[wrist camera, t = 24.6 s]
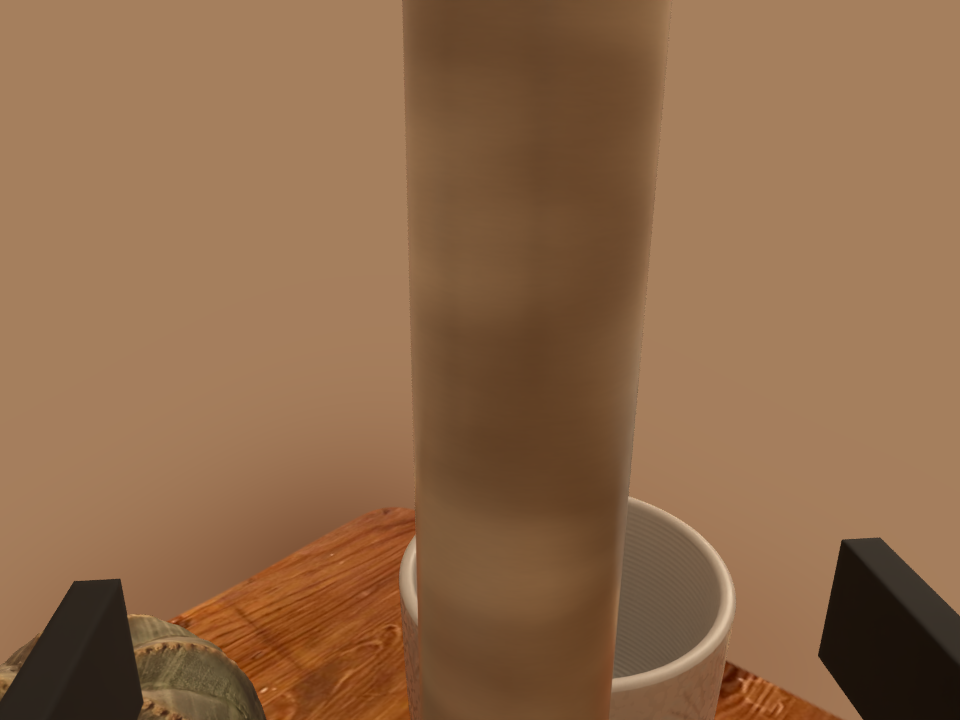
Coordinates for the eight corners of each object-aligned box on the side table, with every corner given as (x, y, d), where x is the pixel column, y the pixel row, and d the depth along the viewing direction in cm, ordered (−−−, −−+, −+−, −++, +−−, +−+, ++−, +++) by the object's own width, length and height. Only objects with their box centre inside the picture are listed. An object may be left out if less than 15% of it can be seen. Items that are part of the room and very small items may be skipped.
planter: (575, 1016, 25) (596, 762, 21) (346, 779, 33) (331, 564, 29) (758, 782, 33) (797, 567, 29) (538, 638, 41) (546, 455, 37)
